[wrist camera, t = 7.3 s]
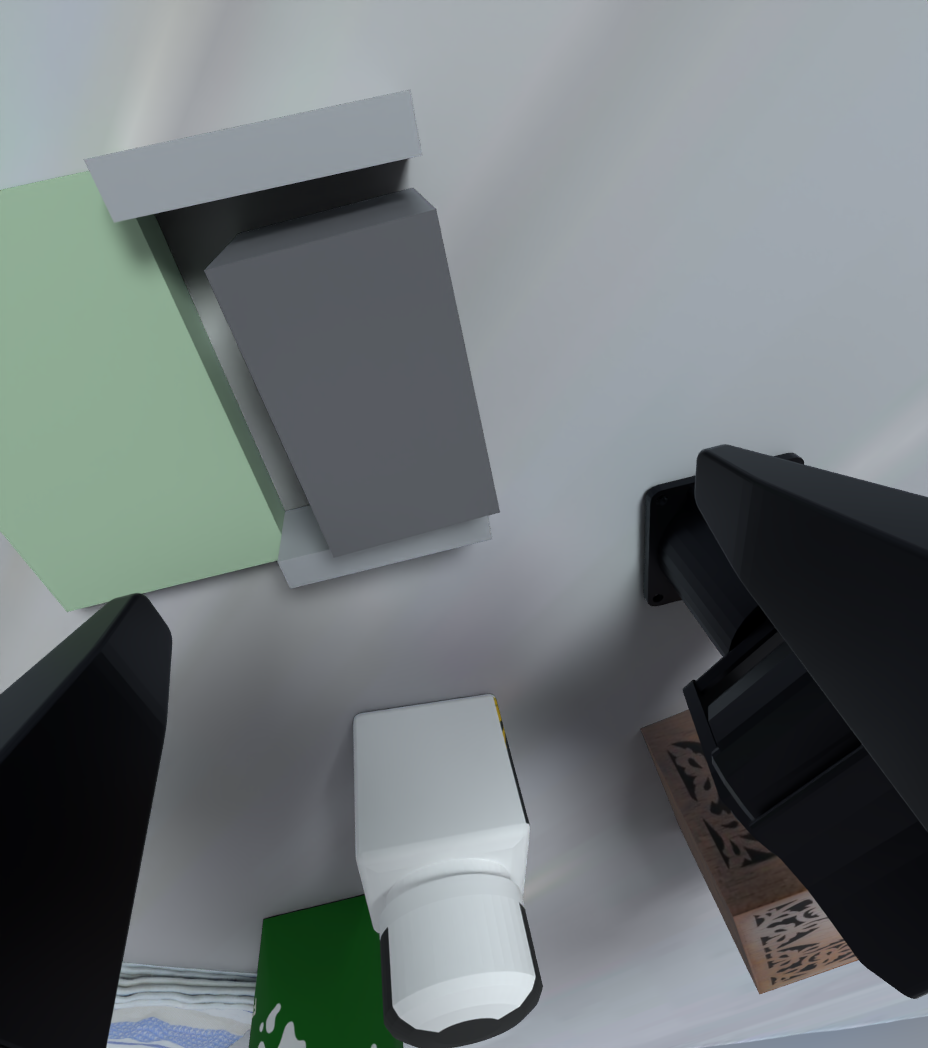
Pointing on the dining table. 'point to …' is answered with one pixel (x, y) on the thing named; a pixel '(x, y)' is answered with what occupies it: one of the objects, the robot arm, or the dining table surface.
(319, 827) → the dining table surface
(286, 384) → the gray cuboid pillar
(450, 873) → the medicine bottle
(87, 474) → the deck
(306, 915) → the milk carton
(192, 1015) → the dish towel
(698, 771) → the tissue box cover
